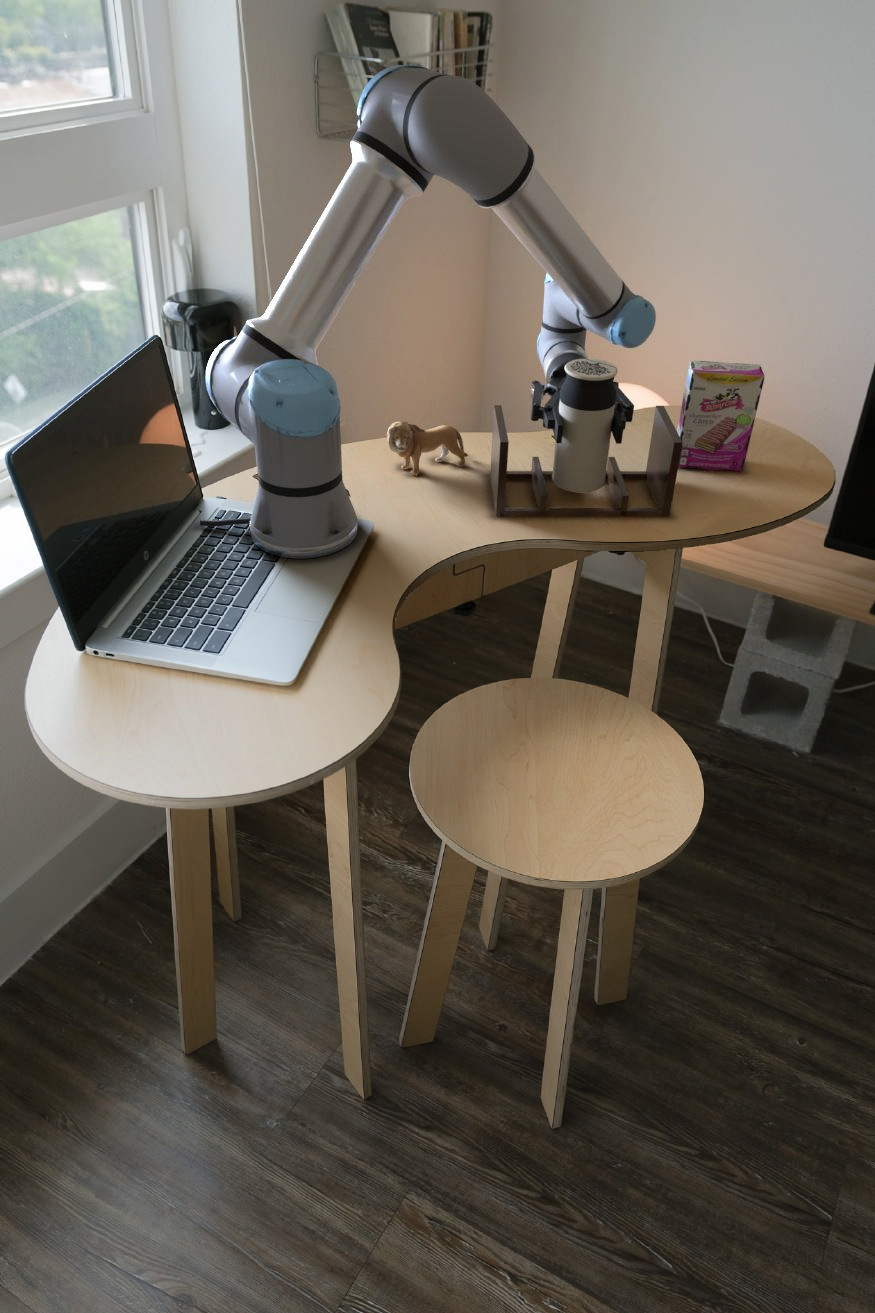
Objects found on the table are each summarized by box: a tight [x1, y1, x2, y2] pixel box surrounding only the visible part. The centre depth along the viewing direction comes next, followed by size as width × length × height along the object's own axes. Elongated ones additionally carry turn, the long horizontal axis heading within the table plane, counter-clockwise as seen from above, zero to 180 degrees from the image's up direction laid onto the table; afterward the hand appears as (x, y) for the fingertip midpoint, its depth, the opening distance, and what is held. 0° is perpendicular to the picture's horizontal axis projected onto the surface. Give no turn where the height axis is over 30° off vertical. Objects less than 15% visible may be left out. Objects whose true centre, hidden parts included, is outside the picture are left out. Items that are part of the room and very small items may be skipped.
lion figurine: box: [386, 420, 469, 476], centre depth 158 cm, size 15×5×9 cm, turn 121°
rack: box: [489, 404, 683, 518], centre depth 151 cm, size 26×13×12 cm, turn 92°
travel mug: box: [551, 358, 619, 494], centre depth 147 cm, size 8×8×18 cm
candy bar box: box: [676, 360, 766, 472], centre depth 159 cm, size 11×5×16 cm, turn 84°
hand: (590, 434), depth 143 cm, fingers closed on travel mug, 8 cm apart
